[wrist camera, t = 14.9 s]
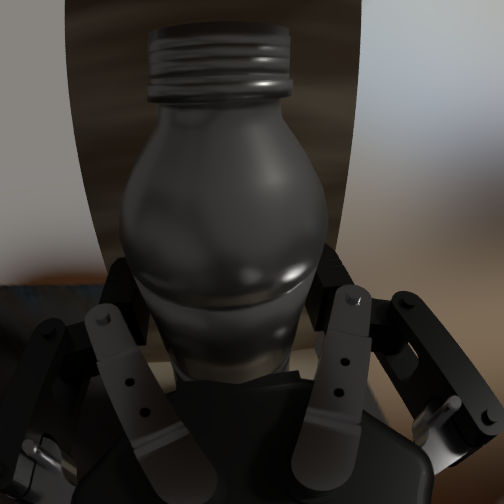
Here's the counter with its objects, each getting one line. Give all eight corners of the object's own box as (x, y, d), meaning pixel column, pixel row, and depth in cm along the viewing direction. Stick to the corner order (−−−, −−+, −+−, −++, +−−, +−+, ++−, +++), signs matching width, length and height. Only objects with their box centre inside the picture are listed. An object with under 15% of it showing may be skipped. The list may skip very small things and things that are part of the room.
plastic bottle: (175, 463, 15) (25, 52, 4) (196, 376, 21) (151, 44, 9) (284, 475, 15) (390, 22, 3) (288, 384, 20) (329, 42, 9)
